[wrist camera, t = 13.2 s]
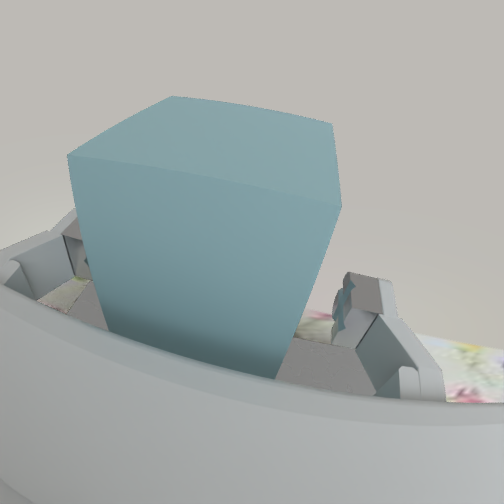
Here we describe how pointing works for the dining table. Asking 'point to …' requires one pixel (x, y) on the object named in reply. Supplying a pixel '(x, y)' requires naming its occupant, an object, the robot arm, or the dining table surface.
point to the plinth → (294, 363)
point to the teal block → (208, 227)
